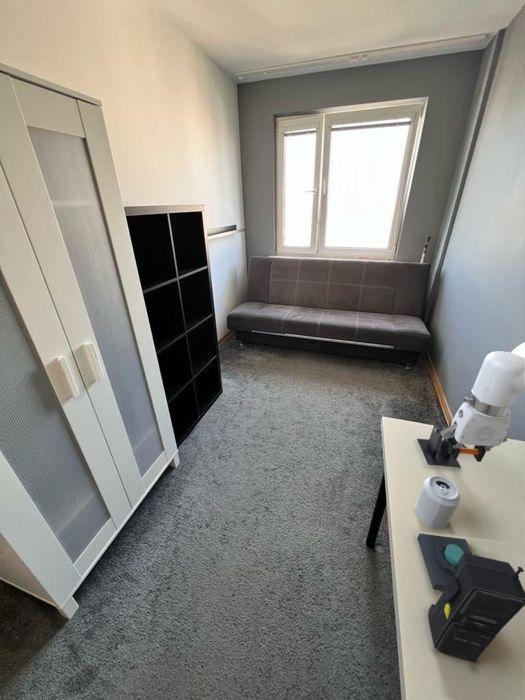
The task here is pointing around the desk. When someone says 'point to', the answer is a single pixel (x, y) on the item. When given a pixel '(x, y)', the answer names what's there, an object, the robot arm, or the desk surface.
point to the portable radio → (475, 606)
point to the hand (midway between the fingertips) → (464, 455)
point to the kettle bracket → (437, 448)
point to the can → (437, 502)
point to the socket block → (439, 558)
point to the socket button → (453, 554)
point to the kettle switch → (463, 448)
